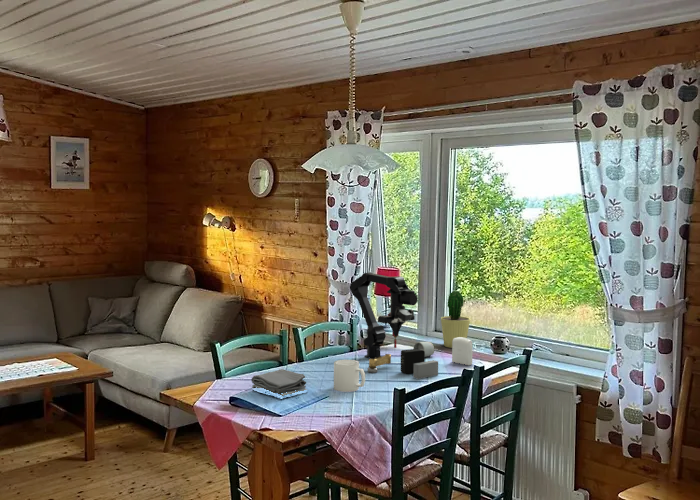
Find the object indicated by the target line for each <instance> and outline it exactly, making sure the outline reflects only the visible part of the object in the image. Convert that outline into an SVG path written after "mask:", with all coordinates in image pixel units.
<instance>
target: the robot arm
mask: <svg viewBox="0 0 700 500" xmlns="http://www.w3.org/2000/svg"><path fill="white" fill-rule="evenodd" d="M371 283H375V284H381V285H384V286H386V287H387V288H388V290H387V292H386V294H390V304H389V305H388V308H389V309H390V312H389V313H390V314H389V313H388V314H389V316H387V315H378V317H377V318H376V316H375V313H374V311H373V308H372V305H371V303H370V300H369V297H368V293H369V289H368V287H369V286H370V285H371ZM349 289H350V290H349V291H350V292H351V294H352V296H353V297H355V298H356V300H357V301H358V304H359V307H360V309H361V313H362V315H363V317H364V321H365V322H366V325H367V329H366V334H367V337H366V338H365V339H364V340H363V345H364V346H366V355H364V358H368V359H371V358H378V357H381V356H382V355H381V345H383V344H384V342H385V339H386V338H387V337H386V336H387V335H386V331H385V328H384V325H383V324H388V325H389V326H390V328H391V330H392V331H393V333H394V335H395V336H397V337H399V334H400V330H401V328H402V325H404V323H406V322H407V321H414V320H415V312H414V309H411V308H410V309H406V307H405V305H406V306H416V304H417V303H418V295H417V293H416V292H415V290H411V289H410V288H409V286H408V284H407V283H406V281H405V278H404V276H387V275H382V274H377V273H373V272H364V273H363V274H362V275H360V276H359V277H358V278H356V279H355V280H354V281H351V282H350V285H349ZM390 316H391V317H390ZM379 323H381V325H380V324H379Z"/></svg>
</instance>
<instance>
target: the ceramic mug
mask: <svg viewBox="0 0 700 500" xmlns="http://www.w3.org/2000/svg"><path fill="white" fill-rule="evenodd" d="M412 349H422V350H424V351H425V358H428V357H431V356H433V355H434V353H435V347H434V344H433V343H432V342H430V341H416V343H414V344H413V347H412Z"/></svg>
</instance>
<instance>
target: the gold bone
mask: <svg viewBox="0 0 700 500" xmlns="http://www.w3.org/2000/svg"><path fill="white" fill-rule="evenodd" d="M380 356H381V357H378V358H368V368H377V367H379V366H383V365H387V364H388V365H390V364H392V354H390V353H385V355H380Z"/></svg>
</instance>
